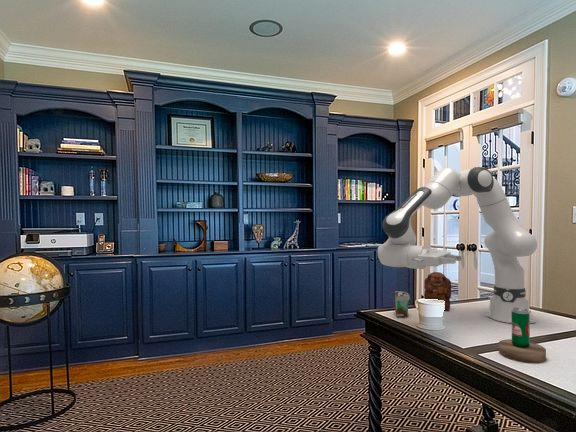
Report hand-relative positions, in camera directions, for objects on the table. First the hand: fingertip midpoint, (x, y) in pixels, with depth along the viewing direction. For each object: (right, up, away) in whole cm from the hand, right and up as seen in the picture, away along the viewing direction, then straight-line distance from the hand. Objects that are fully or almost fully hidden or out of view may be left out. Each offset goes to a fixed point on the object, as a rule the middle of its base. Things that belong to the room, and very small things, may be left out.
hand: (458, 259), depth 133 cm
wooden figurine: (+12, -30, +48) cm, 57 cm away
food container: (-8, -30, +37) cm, 49 cm away
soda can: (+15, -27, -11) cm, 33 cm away
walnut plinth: (+16, -30, -11) cm, 35 cm away
